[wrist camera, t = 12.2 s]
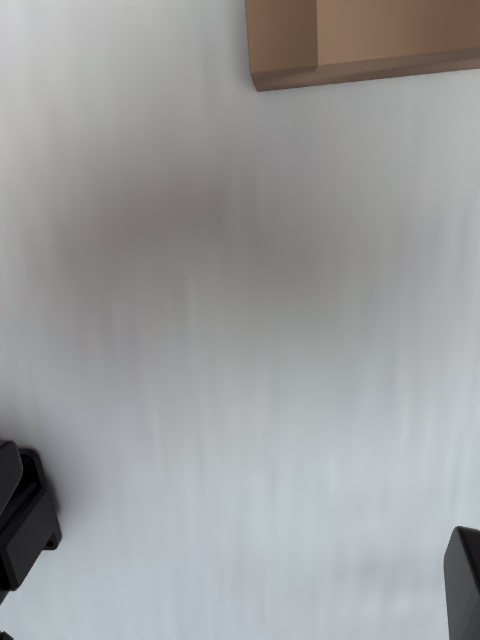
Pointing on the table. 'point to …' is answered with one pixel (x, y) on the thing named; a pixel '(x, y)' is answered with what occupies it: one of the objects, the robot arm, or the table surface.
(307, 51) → the socket block
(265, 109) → the table surface
